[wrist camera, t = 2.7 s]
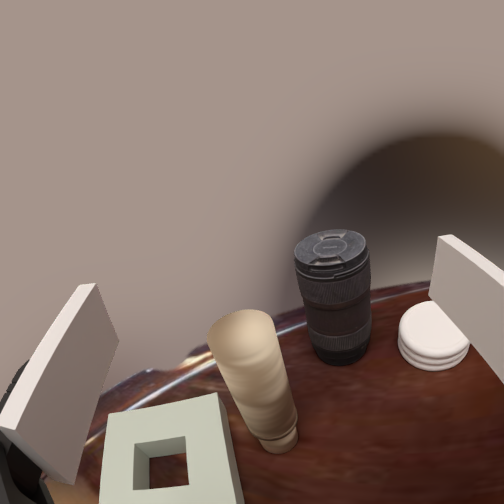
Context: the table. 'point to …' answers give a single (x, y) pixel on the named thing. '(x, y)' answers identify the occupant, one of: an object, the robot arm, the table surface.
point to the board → (169, 443)
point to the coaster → (430, 338)
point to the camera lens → (335, 293)
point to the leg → (256, 376)
